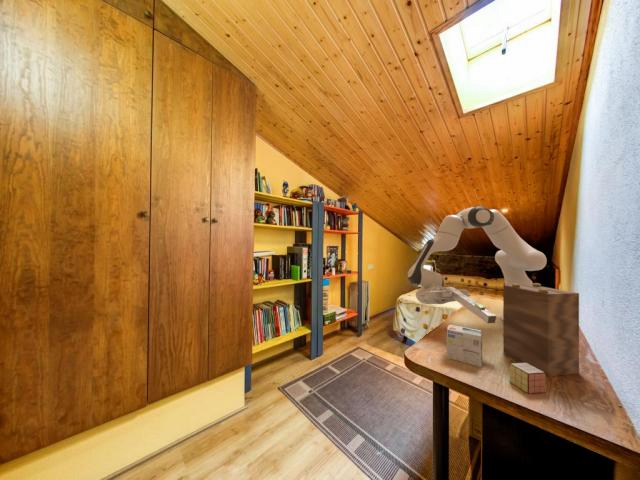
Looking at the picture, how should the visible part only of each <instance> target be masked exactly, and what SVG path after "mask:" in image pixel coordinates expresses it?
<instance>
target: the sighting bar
mask: <svg viewBox="0 0 640 480" xmlns="http://www.w3.org/2000/svg"><path fill="white" fill-rule="evenodd" d="M457 289H458V288H455V287H454V286H453V285H452V286H446V292H453V294H454V296H451V297H452V298H453V299H455V300H456V301H455V302H458V303H459V304H461V305H462V306H463V307H464V308H466V309H467V310H468V311H469V312H470V313H473V314H474V315H475V316H477V317H478V318H479V319H481V321H483V322H484V323H486V324H495V323H496V320H497V315H496V314H494V313H493V312H491V310H489V309H487V308H486V306H485V305H483V304H482V303H479V302H476V301H475V300H474V299H472V298H471V297H470V296H469V297H467V296H466V295H464V294H463V293H461V292H460V291H458V290H457Z"/></svg>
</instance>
